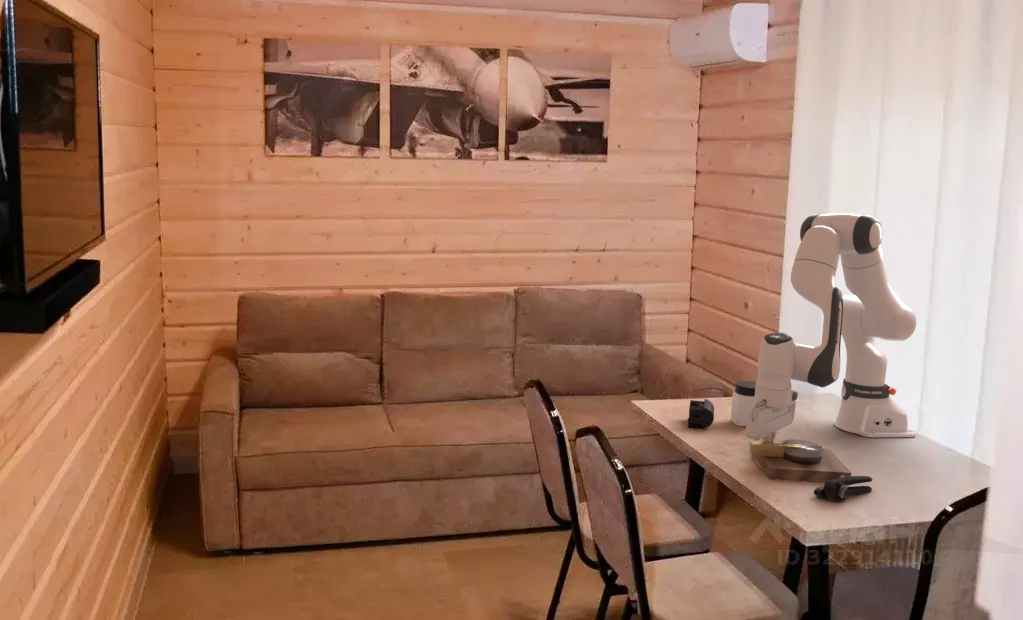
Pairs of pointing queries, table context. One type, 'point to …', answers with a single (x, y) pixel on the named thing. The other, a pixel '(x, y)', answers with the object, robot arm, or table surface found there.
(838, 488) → the can opener
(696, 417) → the end cap
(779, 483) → the table surface
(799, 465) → the base
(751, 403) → the jar
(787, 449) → the small frying pan
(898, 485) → the table surface
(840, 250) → the robot arm
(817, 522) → the table surface
